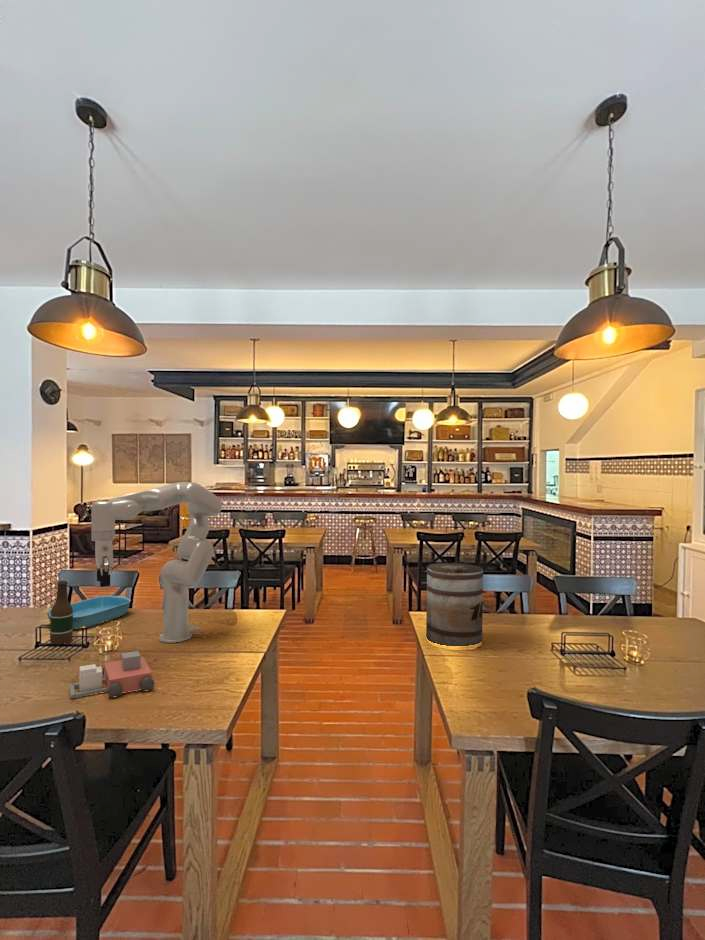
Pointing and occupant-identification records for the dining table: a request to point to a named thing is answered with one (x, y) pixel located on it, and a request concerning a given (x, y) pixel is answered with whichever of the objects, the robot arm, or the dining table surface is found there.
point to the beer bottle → (61, 617)
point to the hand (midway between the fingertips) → (103, 583)
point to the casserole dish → (97, 610)
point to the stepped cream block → (90, 678)
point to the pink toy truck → (122, 676)
